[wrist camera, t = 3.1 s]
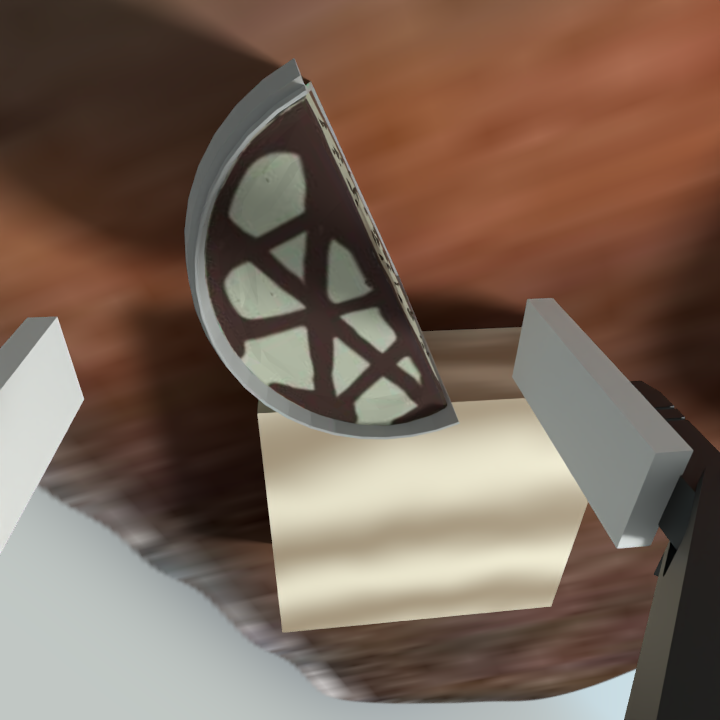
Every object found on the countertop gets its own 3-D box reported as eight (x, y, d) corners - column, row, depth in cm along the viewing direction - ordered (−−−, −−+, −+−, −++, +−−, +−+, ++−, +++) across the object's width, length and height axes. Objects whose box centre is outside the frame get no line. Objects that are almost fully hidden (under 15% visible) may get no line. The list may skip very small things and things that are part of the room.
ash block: (263, 338, 27) (257, 413, 22) (567, 324, 29) (626, 392, 24) (283, 545, 36) (282, 632, 31) (516, 526, 37) (551, 606, 32)
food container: (153, 116, 21) (65, 189, 13) (292, 40, 20) (295, 65, 12) (300, 351, 28) (305, 498, 20) (410, 301, 27) (464, 434, 19)
